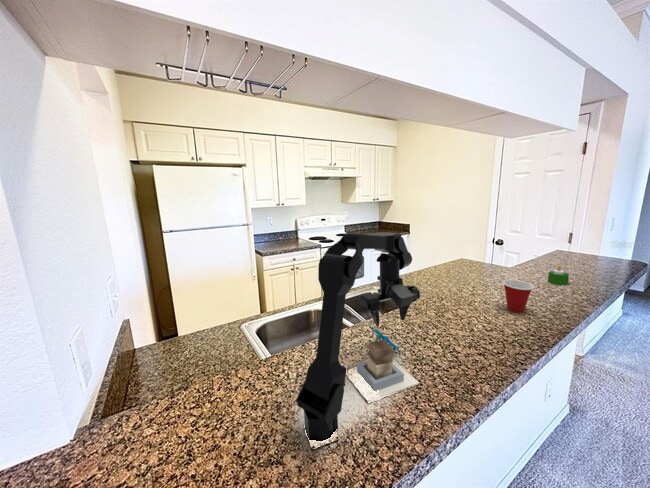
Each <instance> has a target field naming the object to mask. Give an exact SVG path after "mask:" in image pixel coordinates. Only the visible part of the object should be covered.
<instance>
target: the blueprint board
mask: <svg viewBox="0 0 650 488" xmlns="http://www.w3.org/2000/svg"><path fill="white" fill-rule="evenodd" d="M356 366H357V372H358V373H359V374H360V375H361V376H362V377H363V378H364V380H365V381H366V382H367V383H368V384H369V385H370V386H371V388H372V389H373V390H374V391H376V392H377V390H379V395H380V397H382V396H385V395H388V394H391V393H394V392H398V391H400V390H404V389H407V388H409V387H412V386H415V385H418V384H419V385H420V382H419V381H418V380H417V379H416V378H415V377H413V376H412V374H410V373H409V372H408V371H407V370H405V368H403V367H402V366H401V365H400V364H399V363H397V362H396V361H395V360H394V359H393V362H392V375H389V376H386V377H383V378H380V379H377V380H375V379H374V378H373V376H372V375H371V374H370V373H369V372H368V370H367V361H364V362H360V363H358V364H356ZM419 385H418V386H419ZM378 397H379V396H378Z"/></svg>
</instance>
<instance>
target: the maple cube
mask: <svg viewBox="0 0 650 488" xmlns="http://www.w3.org/2000/svg"><path fill="white" fill-rule="evenodd" d="M366 359H367V360H366V362H367V370H368V372H369V373H370V374H371V375H372V376H373V378H374V379H375V380H377V379H380V378H383V377H386V376H389V375H392V362H389V363H385V364H380V365H376V364H375V363H374V362H373V360H372V359H371V357H370V356H368V357H366Z"/></svg>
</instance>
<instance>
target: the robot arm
mask: <svg viewBox="0 0 650 488" xmlns="http://www.w3.org/2000/svg"><path fill="white" fill-rule="evenodd" d="M348 250H354V251H355V252H354V254H353V256H351V255H344V254H345V253H346V252H347V251H348ZM364 250H375V251H377V252H381V253H380V254H379V256H378V257H377V258H376V262H377V263H379V275H378V276H377V280H378V281H379V288H378V289H377V293H378V294H379V295H375V294H373V293H372V292H371V293H370V292H369V293H364V294H360V295H359V296H358V304H359V305H360V306H362V307H363V308H364V309H366V310H368V312H369V314H370V316H371V318H372V320H373V323H374V325H375V326H376V327H377V328H379V327H380V311H381V310H382V308H381V302H385V301H390V300H392V301H393V302H394V303H395V305H396V306H397V307H398V312H399V316H400V317H399V318H400V320H401V321H405V318H406V316H407V312H408V311H409V309H410V306H411V305H412V304H413V303H414V302H417V300H418V299H420V298H421V291H420V289H419V288H418V287H417V286H416V285H409V284H407V285H404V280H403V278H402V277H400V270H403V269H405V268H407V267H408V266H410V265H411V264H412V261H413V257H412V255H411V252H410V251H408V250H409V249H408V248H407V245H406V243H405V240H404V238H403V237H402V234H401V233H400V232H385V231H383V232H381V231H380V232H376V233H374V234H364V233H362V232H346V233H344V234H343V235H342V237H341V238H340V240H338V241H337V242H335V243H334V244H333V245H331V246H330V247H328V248H327V250H326V252H325V253H324V254H323V256H322V257H321V258H320V259H319V261H318V267H317V268H318V271H317V272H318V282H319V285H320V288H321V290H322V292H323V297H322V304H321V305H322V306H321V313H320V322H319V328H318V329H319V331H318V338H317V347H316V356H315V358H314V360H312V362H311V364H310V365H309V366H308V368H307V372H306V376H305V379H304V381H303V384H302V386H301V389H300V390H299V393H298V394H297V397H296V400H295V403H296V405H297V407H298V408H301V409H302V410H303V416H304V417H303V419H304V425H305V430H306V433H307V436H308V438H309V440H316V441H323V440H326V439H328V438H330V437H331V435H332V434H333V432H335V431H337V430H336V429H338V430H339V421H338V420H339V417H338V415H339V414H340V413H341V411H342V405H343V400H344V399H343V398H344V393H345V387H346V377H347V376H346V369H347V368H346V366H343V365H342V364H341V362H340V360H339V358H340V350H341V349H340V348H341V339H342V333H343V332H342V331H343V322H344V315H345V314H344V313H345V307H346V306H345V304H346V296H347V294H348V293H349V291H351V289H352V288H353V286H354V285H355V281H356V276H357V274H358V272H359V271H360V269H361V267H362V265H363V263H364V259H363V258H364V256H363V252H364Z"/></svg>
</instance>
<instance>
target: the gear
mask: <svg viewBox="0 0 650 488" xmlns="http://www.w3.org/2000/svg"><path fill="white" fill-rule="evenodd" d="M372 330H373V332H374V333H375V334H376V336H375V340H374V341H373V342H375V341H380V340H385V341H386V342H387V343H388V344H389V345H390V346H391V347H392V348H394V349H395V350H396V351H398V350H399V349H400V348H399V347H398V346H397V345H396V344H395V343H394V342H393V341H391V340H390V337H389V336H388V335H383V333H381V332H380V331H379V330H378V329H376V328H373V329H372Z"/></svg>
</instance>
